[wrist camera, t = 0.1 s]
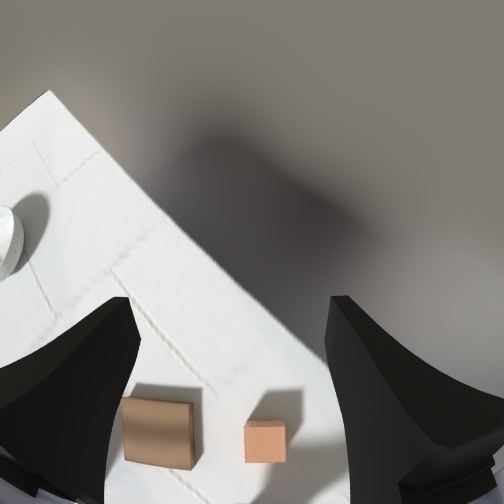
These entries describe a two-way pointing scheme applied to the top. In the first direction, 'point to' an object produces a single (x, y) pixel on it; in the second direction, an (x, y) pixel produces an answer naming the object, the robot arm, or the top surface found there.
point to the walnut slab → (158, 432)
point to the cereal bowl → (9, 241)
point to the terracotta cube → (265, 441)
